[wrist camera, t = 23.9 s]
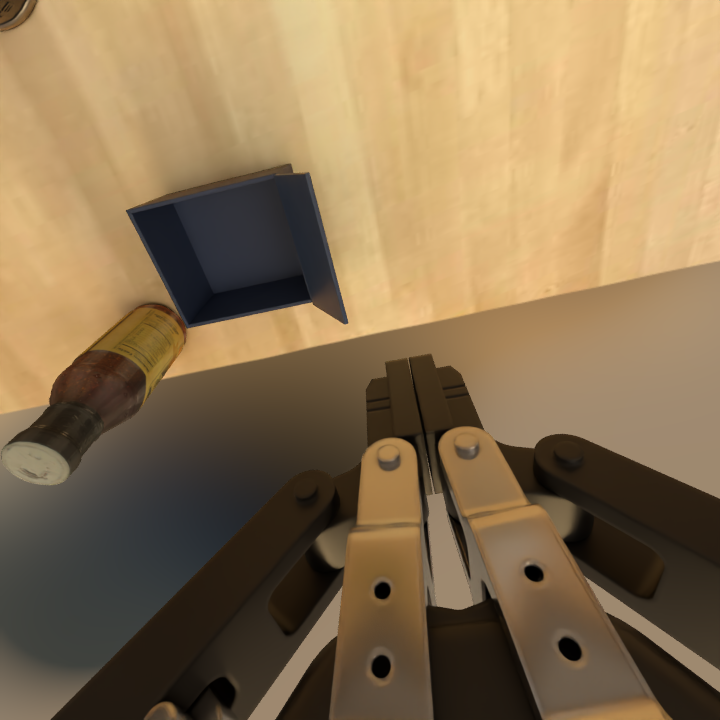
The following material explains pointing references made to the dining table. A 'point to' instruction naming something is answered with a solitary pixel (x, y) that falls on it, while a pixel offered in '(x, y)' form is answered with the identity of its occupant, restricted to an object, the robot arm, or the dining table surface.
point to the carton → (224, 248)
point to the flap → (311, 242)
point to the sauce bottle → (97, 394)
